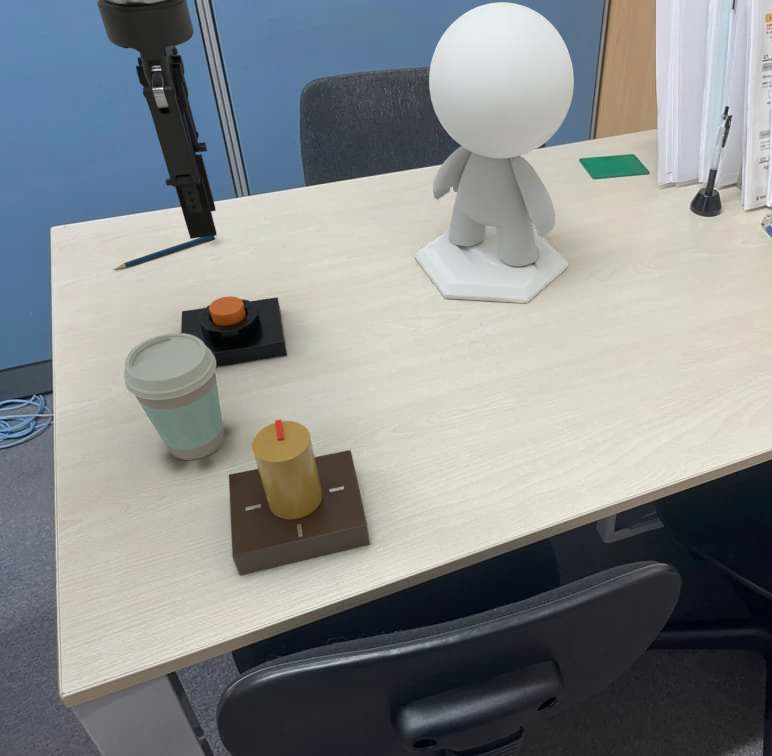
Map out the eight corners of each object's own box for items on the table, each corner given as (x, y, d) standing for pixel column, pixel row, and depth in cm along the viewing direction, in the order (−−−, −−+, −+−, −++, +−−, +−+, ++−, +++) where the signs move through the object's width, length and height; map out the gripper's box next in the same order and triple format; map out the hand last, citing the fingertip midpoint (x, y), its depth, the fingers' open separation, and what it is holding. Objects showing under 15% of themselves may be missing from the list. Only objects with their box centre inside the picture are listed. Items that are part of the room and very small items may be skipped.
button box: (185, 372, 86) (176, 346, 83) (186, 324, 93) (177, 299, 90) (287, 355, 89) (281, 330, 86) (280, 310, 96) (275, 285, 93)
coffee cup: (224, 403, 82) (198, 320, 74) (247, 450, 77) (222, 365, 69) (146, 430, 78) (110, 345, 70) (165, 482, 73) (128, 396, 65)
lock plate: (239, 575, 65) (231, 555, 63) (235, 493, 72) (228, 473, 70) (370, 544, 68) (367, 524, 66) (353, 468, 75) (350, 448, 73)
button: (212, 329, 86) (209, 317, 85) (212, 310, 89) (208, 298, 88) (246, 323, 87) (243, 312, 86) (245, 305, 90) (242, 294, 89)
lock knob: (325, 512, 67) (313, 452, 61) (271, 525, 66) (253, 465, 60) (318, 473, 70) (306, 413, 65) (266, 485, 69) (249, 425, 64)
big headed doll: (586, 251, 110) (616, 2, 87) (504, 323, 95) (515, 47, 72) (480, 214, 118) (482, -23, 95) (389, 275, 103) (366, 12, 80)
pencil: (215, 240, 109) (115, 273, 102) (212, 237, 110) (113, 270, 102) (214, 235, 109) (113, 268, 101) (211, 232, 109) (111, 265, 102)
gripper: (104, -28, 70) (169, 190, 85) (83, 23, 57) (165, 269, 72) (185, -31, 72) (235, 183, 87) (182, 18, 59) (241, 259, 74)
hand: (203, 222), depth 80 cm, fingers open, 5 cm apart
